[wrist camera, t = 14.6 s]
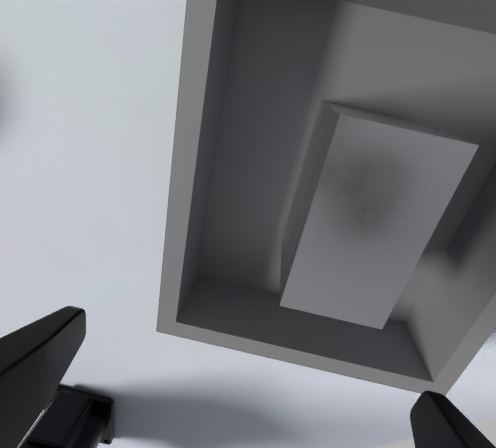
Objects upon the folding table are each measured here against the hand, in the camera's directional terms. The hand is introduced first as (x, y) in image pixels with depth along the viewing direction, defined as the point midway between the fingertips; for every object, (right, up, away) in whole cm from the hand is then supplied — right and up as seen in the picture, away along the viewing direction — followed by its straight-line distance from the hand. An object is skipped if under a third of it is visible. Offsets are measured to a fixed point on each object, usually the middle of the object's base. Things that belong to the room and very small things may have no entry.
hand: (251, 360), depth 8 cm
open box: (+5, +6, +9) cm, 12 cm away
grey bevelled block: (+5, +6, +9) cm, 12 cm away
